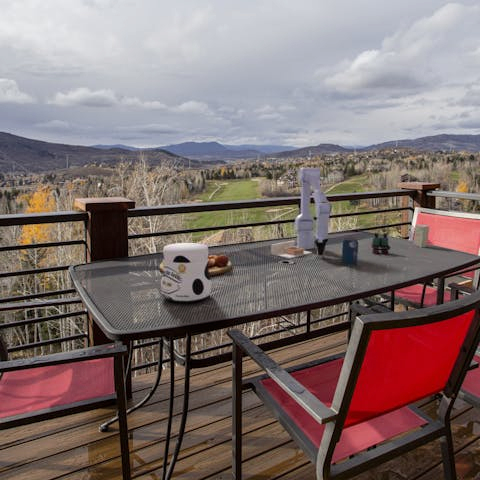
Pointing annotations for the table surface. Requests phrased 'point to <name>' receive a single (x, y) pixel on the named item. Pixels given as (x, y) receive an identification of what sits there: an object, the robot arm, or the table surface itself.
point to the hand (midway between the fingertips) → (321, 254)
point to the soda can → (350, 251)
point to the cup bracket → (288, 250)
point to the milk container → (185, 272)
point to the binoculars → (380, 244)
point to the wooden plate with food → (214, 264)
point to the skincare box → (421, 235)
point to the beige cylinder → (321, 255)
